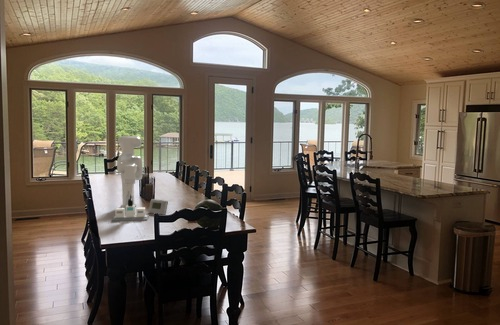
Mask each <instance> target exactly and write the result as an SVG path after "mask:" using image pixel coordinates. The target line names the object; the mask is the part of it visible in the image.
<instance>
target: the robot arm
mask: <svg viewBox="0 0 500 325" xmlns="http://www.w3.org/2000/svg"><path fill="white" fill-rule="evenodd" d="M117 141H118V142H117V143H118V144H119V147H120V149H121V154H120V155H119V156H118V158H117V161H116V169H117V173H119V174H120V179H121V188H122V189H121V192H122V195H121V197H122V199H121V200H122V204H120V208H125V209H126V206H127V205H128V206H133V205H135V207H137V204H136V203H135V184H136V181H140V180H142V179H143V159H142V157H141V156H138V155H135V149H138V148H141V147H142V138H141V137H140V135H121V136H119V137H118V140H117Z"/></svg>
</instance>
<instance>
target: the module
mask: <svg viewBox="0 0 500 325" xmlns="http://www.w3.org/2000/svg"><path fill="white" fill-rule="evenodd" d="M125 215H126V217H135V215H136V206H135V205H133V206H128V205H127V206H126V208H125Z"/></svg>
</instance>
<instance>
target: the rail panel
mask: <svg viewBox="0 0 500 325" xmlns="http://www.w3.org/2000/svg"><path fill="white" fill-rule="evenodd" d="M114 213H115V215H114V216H113V218H112V219H111V222H136V221H137V222H140V221H141V222H142V221H143V222H144V221H148V219H149V216H150V214H146V207H144V206H143V207H142V206H140V207H136V208H135V217H126V208H123V207H116V208H115V211H114Z"/></svg>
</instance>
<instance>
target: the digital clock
mask: <svg viewBox="0 0 500 325" xmlns="http://www.w3.org/2000/svg"><path fill="white" fill-rule="evenodd" d="M168 203H169V200H164V199H155V198H151V200H150V203H149V206H148V207H149V208H148V213H149V214H154V213H159V214H158V215H161V214H162V216H163V215H165V216H166V214H167V211H168V210H167V209H168V206H169V204H168Z"/></svg>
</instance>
